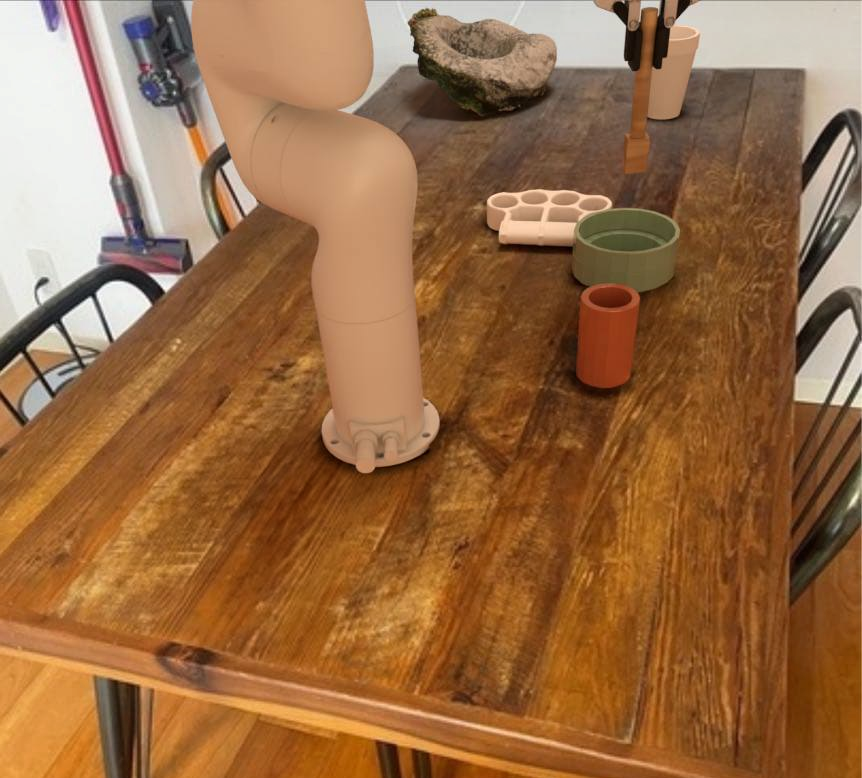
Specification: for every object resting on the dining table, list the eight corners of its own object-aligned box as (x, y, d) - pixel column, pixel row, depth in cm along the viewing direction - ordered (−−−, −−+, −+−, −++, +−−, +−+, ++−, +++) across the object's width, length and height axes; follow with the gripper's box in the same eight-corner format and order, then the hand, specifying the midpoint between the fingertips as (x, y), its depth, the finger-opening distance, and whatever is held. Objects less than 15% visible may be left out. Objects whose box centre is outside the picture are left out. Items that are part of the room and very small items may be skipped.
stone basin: (386, 42, 173) (411, -40, 163) (516, 90, 184) (548, 16, 174) (403, 105, 154) (433, 18, 144) (546, 154, 165) (584, 76, 155)
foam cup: (625, 111, 157) (632, 31, 148) (667, 101, 160) (676, 22, 151) (656, 126, 151) (665, 43, 142) (699, 115, 154) (711, 34, 145)
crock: (635, 391, 94) (645, 309, 87) (580, 395, 94) (586, 313, 87) (624, 361, 98) (633, 281, 91) (572, 365, 98) (577, 285, 91)
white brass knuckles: (476, 249, 121) (493, 205, 131) (605, 254, 117) (613, 209, 128) (475, 226, 119) (493, 183, 129) (607, 231, 115) (615, 187, 125)
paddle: (646, 172, 102) (664, 10, 91) (624, 174, 103) (639, 12, 91) (643, 166, 104) (659, 5, 92) (621, 168, 104) (635, 7, 92)
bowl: (684, 293, 109) (691, 248, 104) (580, 301, 109) (583, 257, 105) (660, 247, 118) (666, 204, 114) (565, 254, 118) (567, 211, 114)
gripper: (589, -131, 80) (578, 83, 93) (759, -146, 79) (724, 71, 92) (576, -141, 85) (568, 62, 98) (735, -156, 85) (706, 50, 98)
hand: (644, 65), depth 95 cm, fingers closed on paddle, 1 cm apart
